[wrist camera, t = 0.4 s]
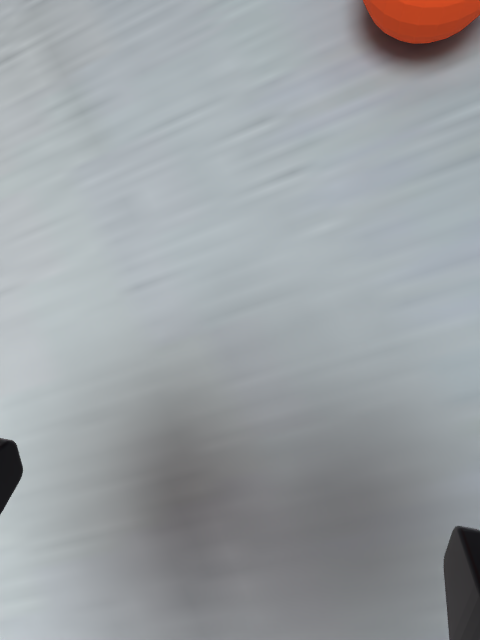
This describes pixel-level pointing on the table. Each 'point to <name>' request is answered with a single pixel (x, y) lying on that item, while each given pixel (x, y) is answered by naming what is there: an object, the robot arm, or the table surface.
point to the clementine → (422, 18)
